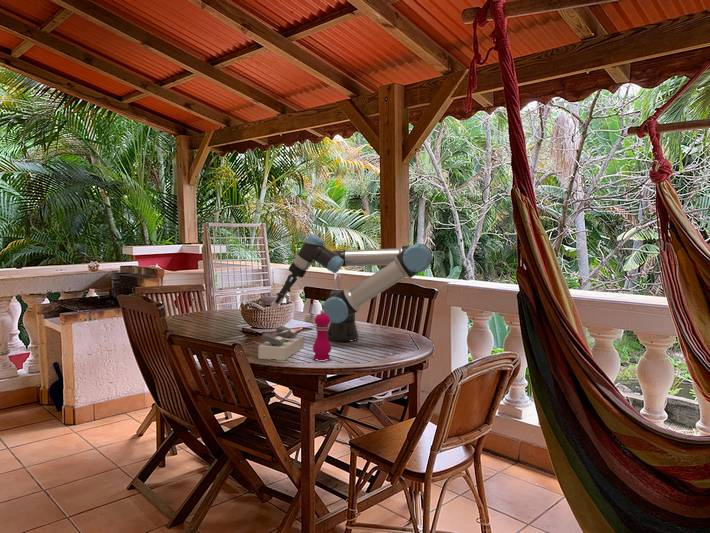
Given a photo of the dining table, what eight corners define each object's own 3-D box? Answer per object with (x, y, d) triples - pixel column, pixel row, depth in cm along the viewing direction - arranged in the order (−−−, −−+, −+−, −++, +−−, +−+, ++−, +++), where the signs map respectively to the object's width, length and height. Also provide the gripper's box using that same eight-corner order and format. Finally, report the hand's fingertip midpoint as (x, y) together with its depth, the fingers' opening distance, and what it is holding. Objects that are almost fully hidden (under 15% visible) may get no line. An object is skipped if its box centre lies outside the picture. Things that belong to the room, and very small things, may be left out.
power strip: (308, 344, 243) (308, 331, 242) (284, 360, 214) (284, 345, 213) (284, 343, 245) (284, 330, 245) (258, 358, 216) (258, 343, 216)
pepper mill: (330, 357, 220) (331, 308, 219) (330, 362, 213) (331, 311, 211) (313, 357, 220) (313, 308, 218) (312, 361, 213) (313, 311, 211)
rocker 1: (283, 343, 220) (284, 338, 220) (279, 345, 215) (280, 340, 215) (265, 337, 222) (267, 331, 221) (260, 339, 217) (262, 334, 216)
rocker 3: (296, 335, 236) (297, 330, 235) (292, 338, 231) (294, 333, 230) (279, 329, 237) (281, 325, 237) (275, 332, 232) (276, 327, 232)
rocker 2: (291, 334, 228) (290, 329, 228) (287, 337, 223) (286, 331, 223) (274, 338, 229) (272, 333, 229) (269, 340, 225) (268, 335, 225)
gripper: (296, 258, 256) (273, 295, 259) (288, 265, 231) (263, 306, 234) (310, 266, 256) (287, 303, 259) (303, 275, 232) (277, 316, 235)
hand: (275, 305), depth 247 cm, fingers open, 13 cm apart
